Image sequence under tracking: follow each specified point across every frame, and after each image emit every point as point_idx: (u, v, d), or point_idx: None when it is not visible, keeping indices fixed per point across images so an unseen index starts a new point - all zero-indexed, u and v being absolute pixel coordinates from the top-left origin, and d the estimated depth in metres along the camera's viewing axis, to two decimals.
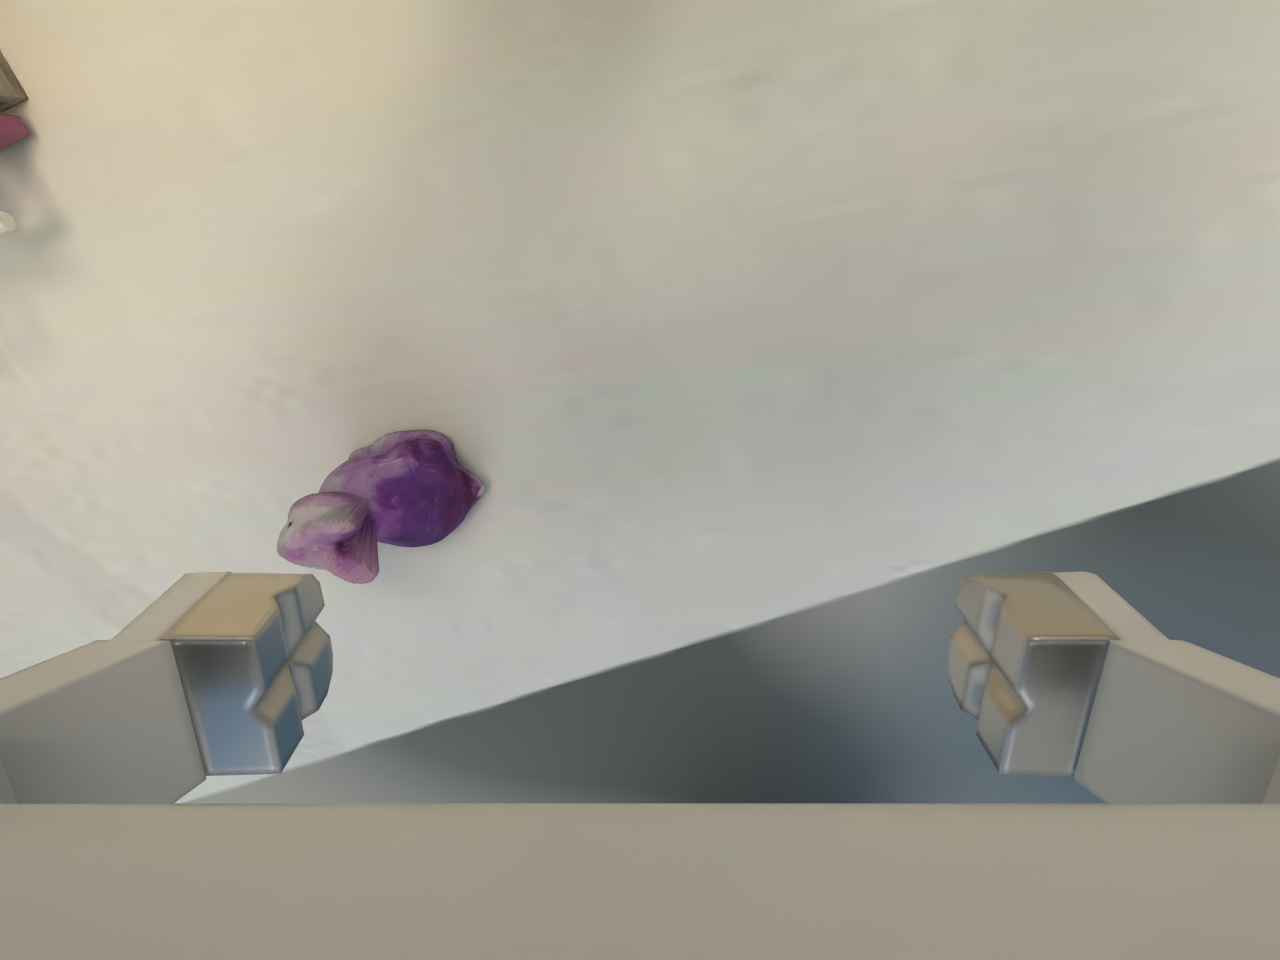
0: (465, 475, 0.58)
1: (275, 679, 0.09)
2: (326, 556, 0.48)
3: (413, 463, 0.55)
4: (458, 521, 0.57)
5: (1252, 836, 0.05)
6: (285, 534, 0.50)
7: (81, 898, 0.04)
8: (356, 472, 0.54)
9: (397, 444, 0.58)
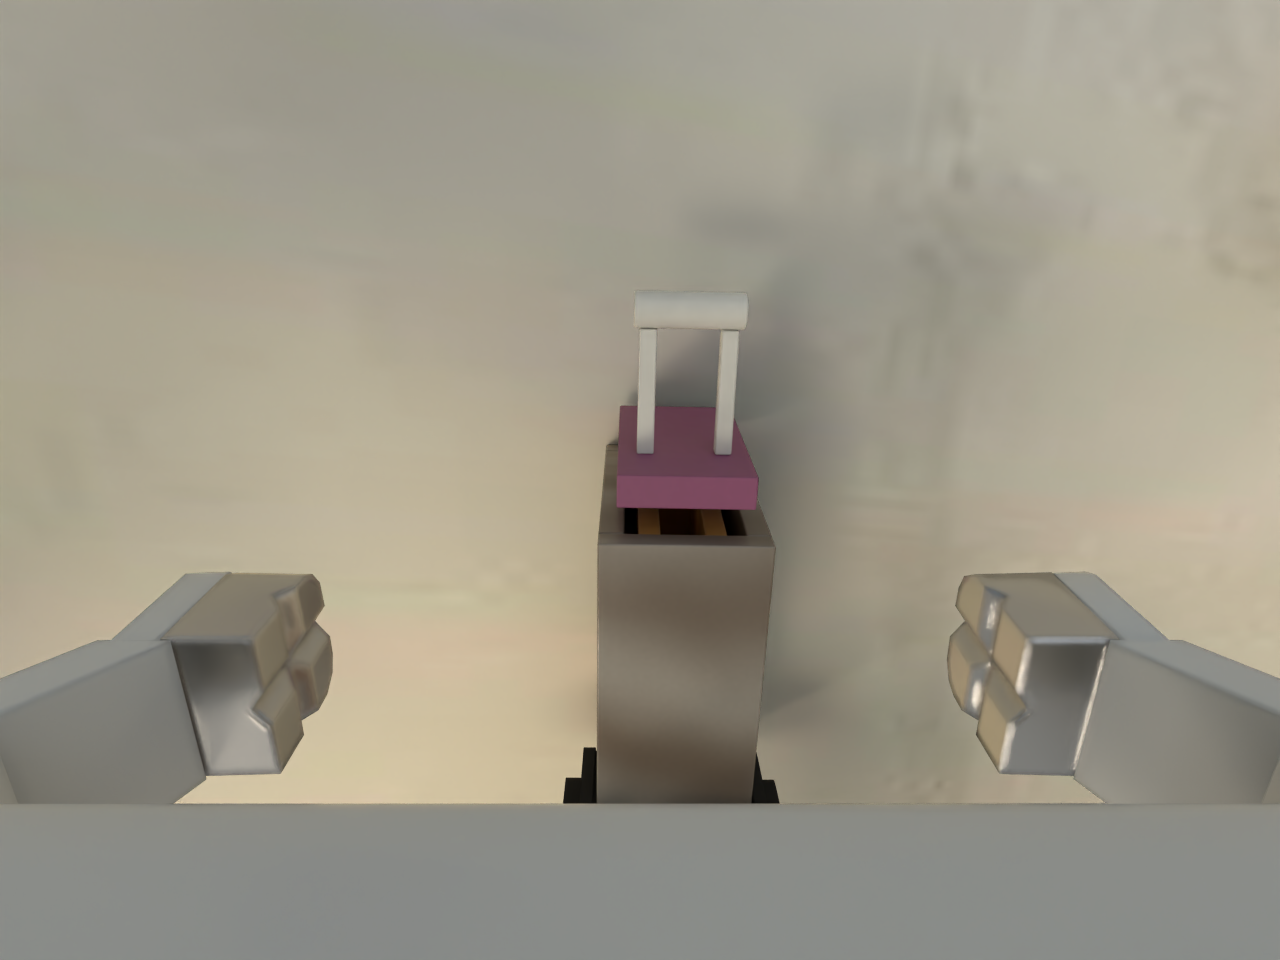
0: None
1: (275, 679, 0.09)
2: None
3: None
4: None
5: (1252, 836, 0.05)
6: None
7: (81, 898, 0.04)
8: None
9: None
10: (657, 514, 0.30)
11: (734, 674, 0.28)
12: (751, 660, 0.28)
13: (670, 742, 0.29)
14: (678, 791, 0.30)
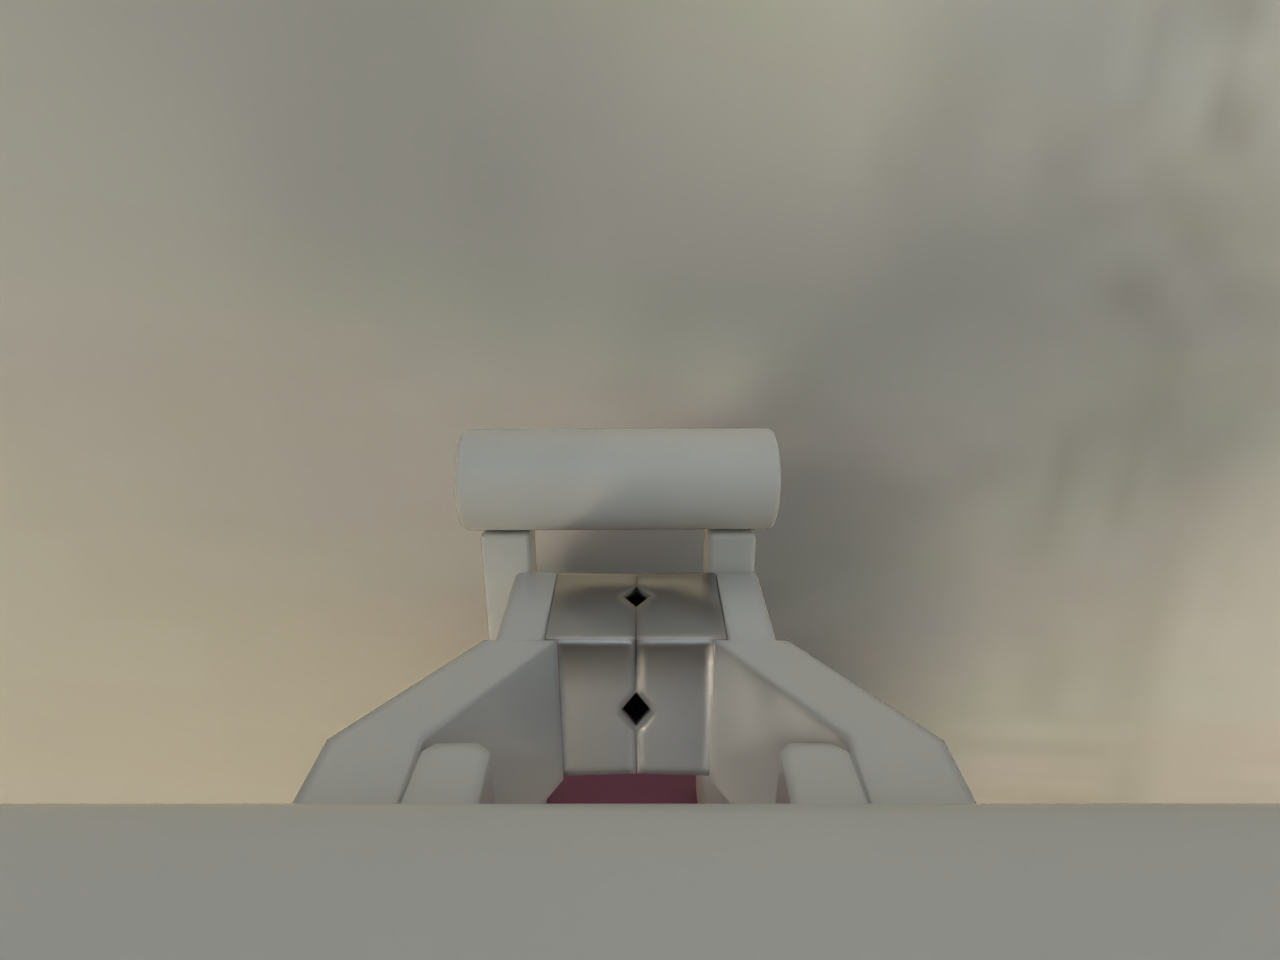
0: None
1: None
2: None
3: None
4: None
5: (1252, 836, 0.05)
6: None
7: (81, 898, 0.04)
8: None
9: None
10: None
11: None
12: None
13: None
14: None
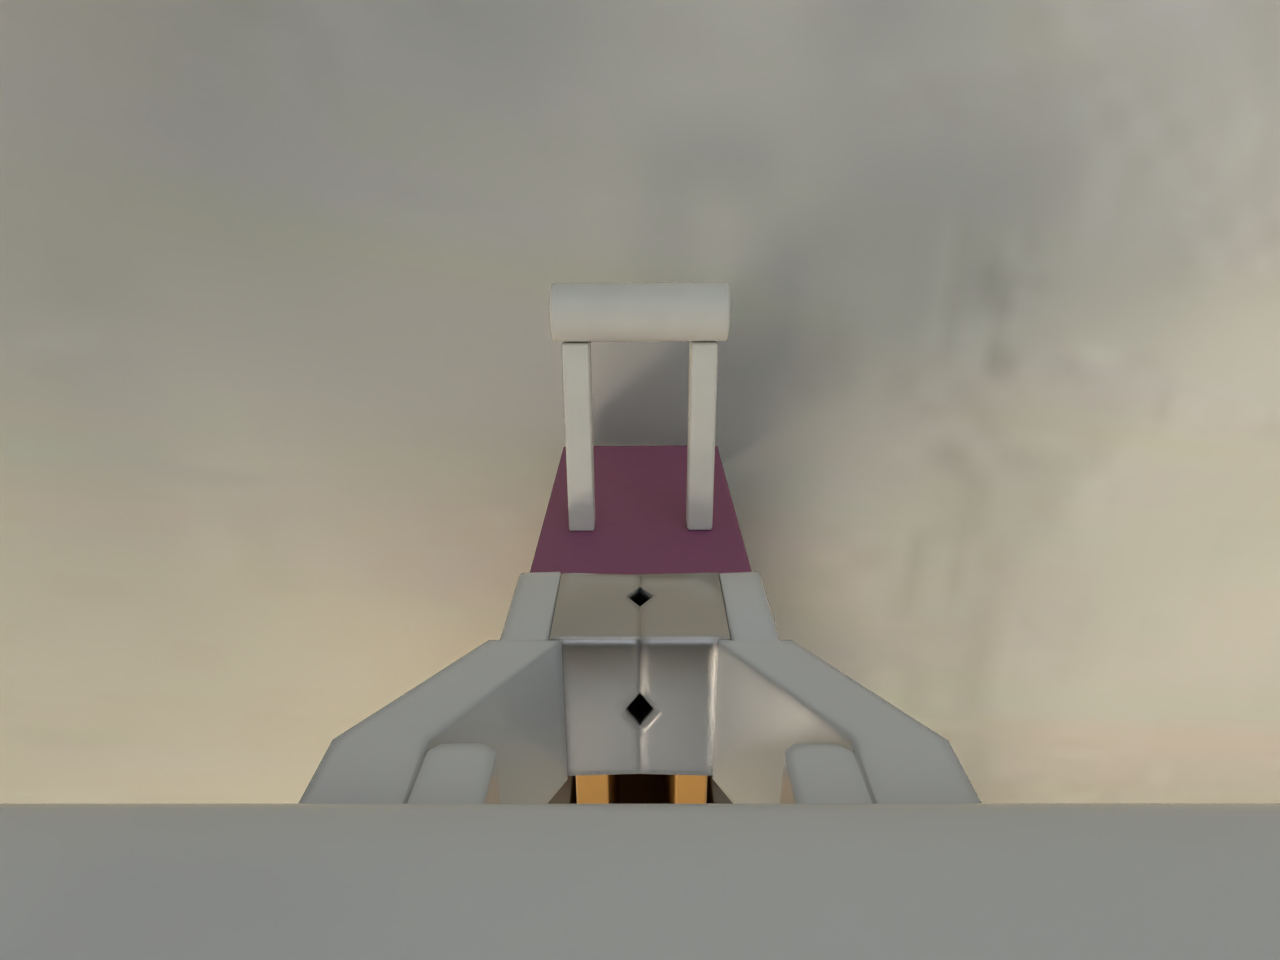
0: None
1: None
2: None
3: None
4: None
5: (1252, 836, 0.05)
6: None
7: (81, 898, 0.04)
8: None
9: None
10: None
11: None
12: None
13: None
14: None
